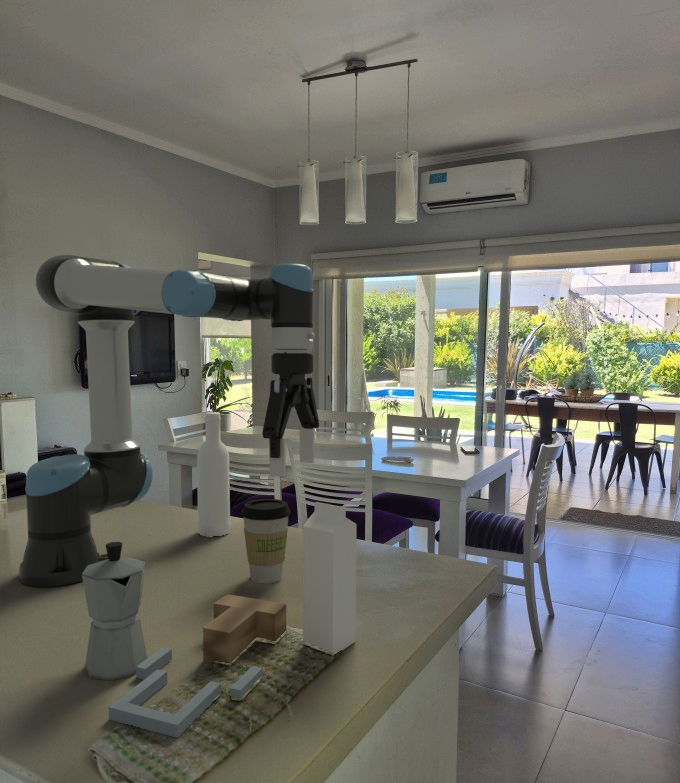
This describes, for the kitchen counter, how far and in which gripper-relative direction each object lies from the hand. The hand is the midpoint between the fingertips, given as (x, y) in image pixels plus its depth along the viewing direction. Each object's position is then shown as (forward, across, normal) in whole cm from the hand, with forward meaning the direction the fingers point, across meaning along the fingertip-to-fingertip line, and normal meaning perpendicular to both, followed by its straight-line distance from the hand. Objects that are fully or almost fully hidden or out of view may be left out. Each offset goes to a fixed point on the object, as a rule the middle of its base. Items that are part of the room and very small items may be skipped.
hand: (293, 469), depth 112 cm
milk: (+24, -15, -12) cm, 31 cm away
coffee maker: (+24, -30, +16) cm, 42 cm away
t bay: (+24, -35, +2) cm, 42 cm away
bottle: (+24, +30, +34) cm, 51 cm away
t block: (+24, -20, +1) cm, 31 cm away
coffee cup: (+24, +7, +9) cm, 27 cm away
